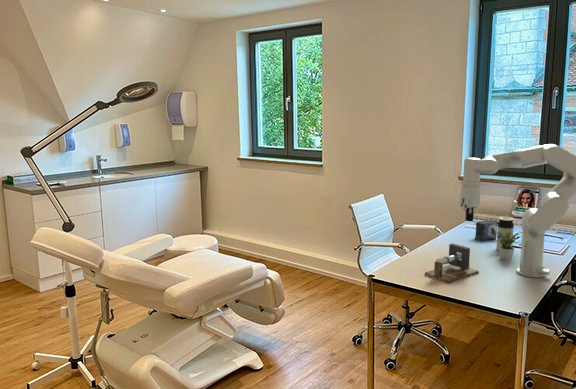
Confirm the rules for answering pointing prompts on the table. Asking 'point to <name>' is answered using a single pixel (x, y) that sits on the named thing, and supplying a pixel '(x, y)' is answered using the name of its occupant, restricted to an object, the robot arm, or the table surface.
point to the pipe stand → (450, 270)
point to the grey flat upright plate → (464, 257)
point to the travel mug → (504, 228)
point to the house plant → (507, 245)
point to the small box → (486, 230)
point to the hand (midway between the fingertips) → (469, 220)
